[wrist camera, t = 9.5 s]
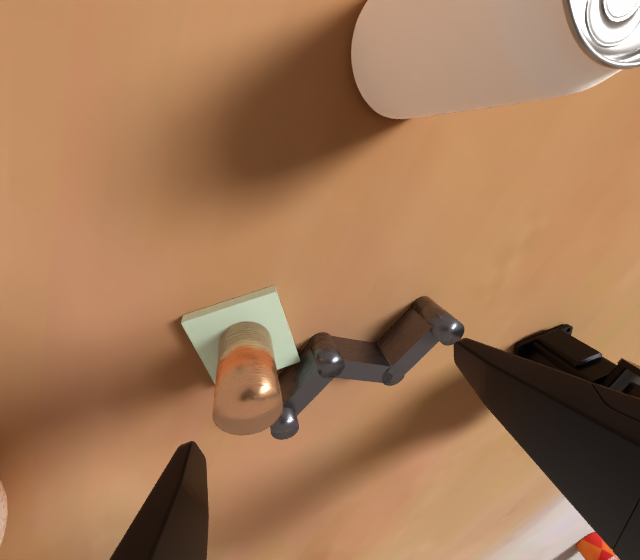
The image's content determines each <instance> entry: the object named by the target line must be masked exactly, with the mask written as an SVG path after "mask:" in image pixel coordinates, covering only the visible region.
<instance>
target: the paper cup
mask: <svg viewBox="0 0 640 560" xmlns="http://www.w3.org/2000/svg"><path fill="white" fill-rule="evenodd" d="M576 547H577V549H578V550H579V552H580V553H581V554H582V556H583V557H584V558H585V560H620V559H619V558H618V557H617V556H616V555H615V554H614V553H613V550H612V549H610V548H609V547H608V545H607V544H606V543H605V542H604V541H603V540H602V538H601V537H600V536H599V535H598V534H597V533H596V532H594V533H591V534H589V535H587V536H585V537H584V538H583V539H581V540H580V541H579V542H578V544H577V545H576Z"/></svg>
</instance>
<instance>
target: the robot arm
mask: <svg viewBox="0 0 640 560" xmlns="http://www.w3.org/2000/svg"><path fill="white" fill-rule="evenodd" d="M572 329H573V327H572V326H570V325H568V324H565V325H562V326H560V327H557V328H555V329H552V330H550V331H547V332H544V333H542V334H539V335H537V336H534V337H532V338H529V339H527V340H524V341H521V342H519V343H518V344H516V346H515V352H514V354H511V353H508V352H505V351H502V350H499V349H497V348H494V347H491V346H488V345H485V344H483V343H480V342H477V341H474V340H471V339H468V338H463V339H460V340H457V341H455V342H454V361H455V363H456V365H457V367H458V368H459V370H460V371H461V372H462V374H463V375H464V377H465V378H466V379H467V381H468V382H469V384H470V385H471V386H472V388H473V389H474V391H475V392H476V393H477V395H478V396H479V398H480V399H481V400H482V402H483V403H484V404H485V405H486V407H487V408H488V409H489V410H490V411H491V413H492V414H493V415H494V416H495V417H496V418H497V419H498V421H499V422H500V423H501V424H502V425H503V426H504V427H505V429H506V430H507V431H508V432H509V433H510V434H511V435H512V437H513V438H514V439H515V440H516V441H517V442H518V443H519V445H520V446H521V447H522V448H523V449H524V450H525V451H526V453H527V454H528V455H529V456H530V457H531V458H532V459H533V461H534V462H535V463H536V464H537V465H538V466H539V467H540V469H541V470H542V471H543V472H544V473H545V474H546V476H547V477H548V478H549V479H550V480H551V481H552V482H553V484H554V485H555V486H556V487H557V488H558V489H559V490H560V492H561V493H562V494H563V495H564V496H565V497H566V498H567V500H568V501H569V502H570V503H571V504H572V505H573V506H574V508H575V509H576V510H577V511H578V512H579V513H580V514H581V516H582V517H583V518H584V519H585V520H586V521H587V522H588V524H589V525H590V526H591V527H592V528H593V529H594V530H595V532H596V533H597V534H598V535H599V536H600V537H601V538H602V540H603V541H604V542H605V543H606V544H607V545H608V547H609V548H610V549H612V550H613V553H614V554H615V555H616V556H617V557H618V558H619V559H620V560H640V366H638V365H636V364H634V363H631V362H629V361H627V360H624V359H622V358H621V359H620V361H619V362H618V365H616V364H614V363H612V362H610V361H609V360H607V359H605V358H604V357H602V354H601V353H600V352H598V351H597V350H595V349H593V348H591V347H590V346H588V345H586V344H584V343H583V342H581V341H579V340H577V339H576V338H574V337H572V336H571V333H572ZM208 520H209V513H208V489H207V468H206V459H205V456H204V455H203V453H202V452H201V450H200V449H199V447H198V446H197V444H196V443H195V442H194V441H190V442H188V443H185V444H182V445H180V446H179V447H178V448H177V450H176V452H175V453H174V455H173V457H172V458H171V460H170V461H169V463H168V465H167V466H166V468H165V470H164V471H163V473H162V475H161V476H160V478H159V479H158V481H157V483H156V484H155V486H154V488H153V489H152V491H151V493H150V494H149V496H148V497H147V499H146V501H145V502H144V504H143V506H142V507H141V509H140V511H139V512H138V514H137V515H136V517H135V519H134V520H133V522H132V524H131V525H130V527H129V529H128V530H127V532H126V533H125V535H124V537H123V538H122V540H121V542H120V543H119V545H118V547H117V548H116V550H115V551H114V553H113V555H112V556H111V558H110V560H206V559H207V541H208Z"/></svg>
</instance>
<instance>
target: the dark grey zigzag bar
mask: <svg viewBox="0 0 640 560" xmlns="http://www.w3.org/2000/svg"><path fill="white" fill-rule="evenodd" d="M463 333H464V326H463V324H462V323H460V322H459V321H458V320H457V319H455V318H454V317H453V316H452V315H450V314H449V313H448V312H447V311H445V310H444V309H443V308H441V307H440V306H439V305H438V304H436V303H435V302H434V301H433V300H431V299H430V298H429V297H420V298H418V299H417V300H416V301H415V302H414V303H413V304H412V307H411V308H410V309H409V310H408V311H407V312H406V313H405V314H404V315H403V316H402V317H401V318H400V319H399V320H398V321H397V322H396V323H395V324H394V326H393V327H392V328H391V329H390V330H389V331H388V332H387V333H386V334H385V335H384V336H383V337H382V338H381V339H380V340H379V341H378V342H377V343H370V342H364V341H358V340H352V339H346V338H340V337H335V336H331V335H330V334H328V333H318V334H316V335H314V336H313V337H312V338H311V340H310V342H309V344H308V345H307V346H306V348H305V349H304V350H303V351H302V352H301V353H300V354H299V358H300V362H298V363H295V364H292V365H289V366H288V367H287V368H286V369H285V370H284V371H283V372H282V373H281V374H280V375H279V377H278V379H279V385H280V390H281V396H282V402H283V409H282V412H281V415H280V416H279V418H278V419H277V420H276V422H275V423H274V424H272V425H271V426H270V428H271V434H272V436H273V437H274V438H276V439H281V440H282V439H288V438H290V437H292V436H294V435H295V434H296V433H297V431H298V429H299V424H298V420H297V415H298V414H299V413H300V412H301V411H302V410H303V409H304V408H305V407H306V406H307V405H308V404H309V403H310V402H311V401H312V400H313V399H314V398H315V397H316V396H317V395H318V394H319V393H320V392H321V391H322V389H323V388H324V387H325V386H326V385H327V384H328V383H329V382H330V381H331V380H332V379H333V378H344V379H353V380H362V381H371V382H379V383H384V384H385V385H388V386H391V385H395V384H397V383H399V382H400V381H401V380H402V379H403V377H404V375H405V374H406V373H407V372H408V371H409V370H410V369H411V368H412V367H413V366H414V365H415V364H416V363H417V362H418V361H419V360H420V359H421V358H422V357H423V356H424V355H425V354H426V353H427V352H428V351H429V350H430V349H431V348H432V347H434V346H435V345H436V344H437V343H438V342H439V341H440V342H441V343H442V344H443V345H452V344H454V342H455V341H457V340H460V339H461V337H462V336H463Z"/></svg>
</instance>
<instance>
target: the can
mask: <svg viewBox="0 0 640 560" xmlns="http://www.w3.org/2000/svg"><path fill="white" fill-rule="evenodd" d="M351 61H352V69H353V74H354V78H355V81H356V84H357V87H358V89H359V91H360V93H361V95H362V97H363V98H364V100H365V101H366V102H367V103H368V105H369V106H370V107H371V108H372V109H373V110H374V111H375V112H377V113H378V114H380V115H382V116H385V117H388V118H393V119H411V118H419V117H426V116H434V115H441V114H448V113H455V112H462V111H469V110H476V109H483V108H490V107H497V106H504V105H511V104H518V103H524V102H531V101H537V100H544V99H550V98H555V97H561V96H566V95H570V94H574V93H577V92H581V91H584V90H586V89H589V88H591V87H593V86H595V85H597V84H599V83H601V82H603V81H604V80H606V79H608V78H609V77H611V76H613V75H614V74H616V73H617V72H619V71H621V70H622V69H631V68H636V67H640V0H368V1H367V2H366V4H365V5H364V7H363V9H362V11H361V13H360V15H359V17H358V20H357V22H356V25H355V29H354V33H353V38H352V46H351Z"/></svg>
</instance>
